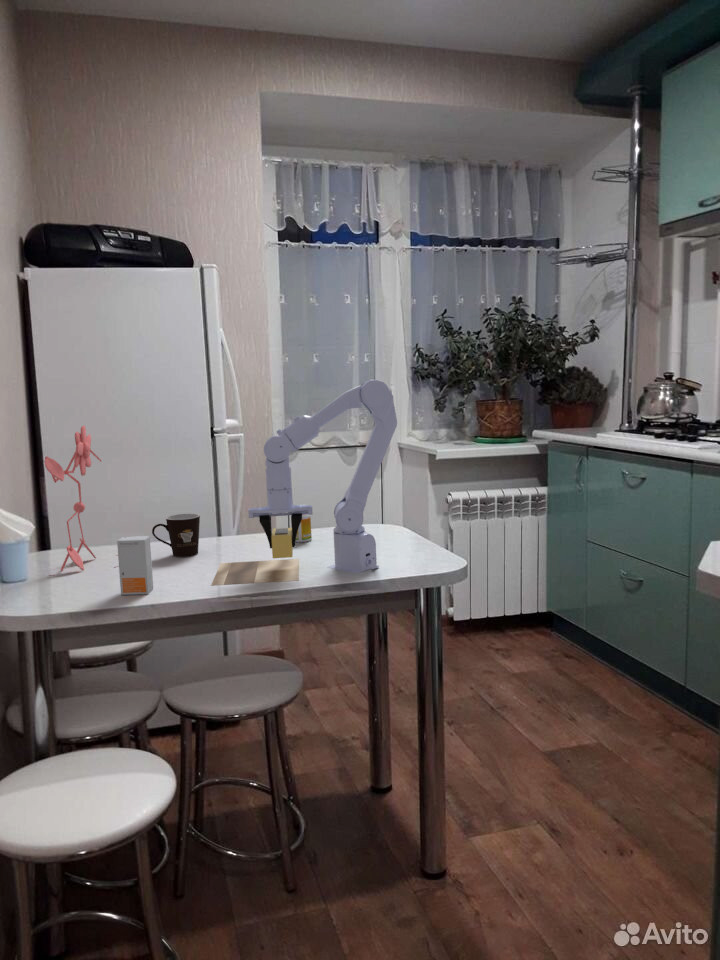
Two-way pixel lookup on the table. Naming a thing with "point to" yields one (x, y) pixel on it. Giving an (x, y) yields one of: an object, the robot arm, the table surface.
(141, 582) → the skincare box
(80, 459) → the figurine
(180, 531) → the coffee mug
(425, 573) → the table surface
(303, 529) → the supplement bottle
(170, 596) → the table surface
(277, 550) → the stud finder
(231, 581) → the subfloor board
